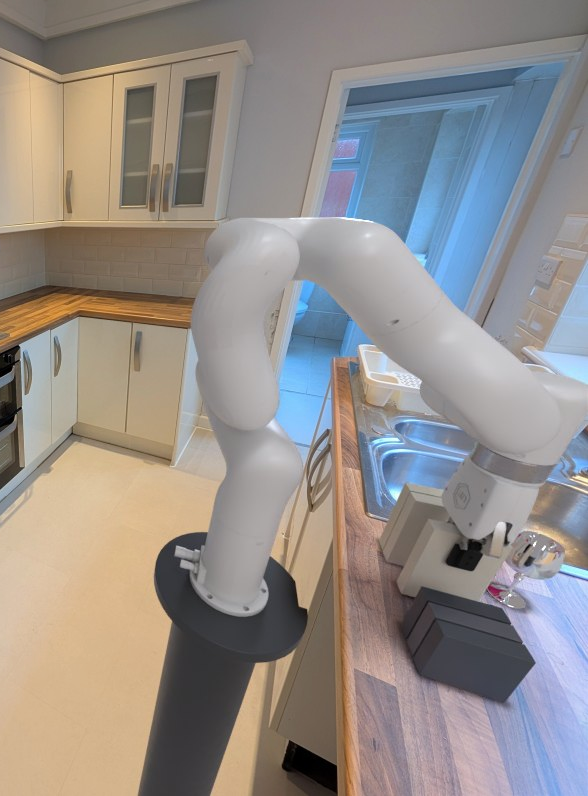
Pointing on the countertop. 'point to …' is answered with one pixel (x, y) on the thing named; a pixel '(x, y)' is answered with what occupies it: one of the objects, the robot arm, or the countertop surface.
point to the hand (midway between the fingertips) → (454, 558)
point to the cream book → (435, 574)
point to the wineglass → (529, 564)
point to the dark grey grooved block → (465, 644)
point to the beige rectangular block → (410, 520)
